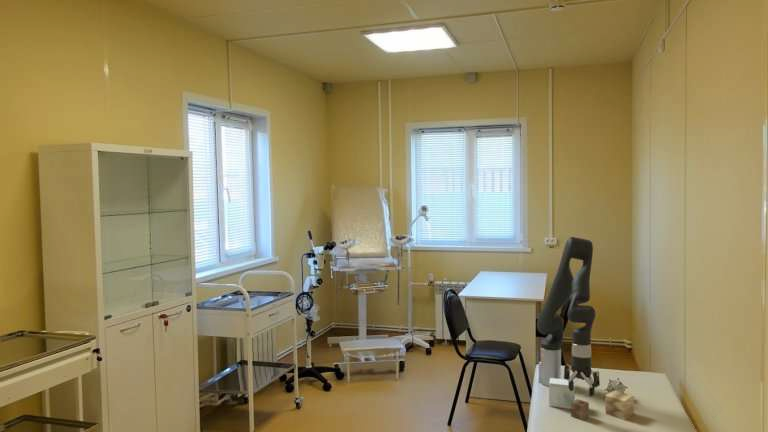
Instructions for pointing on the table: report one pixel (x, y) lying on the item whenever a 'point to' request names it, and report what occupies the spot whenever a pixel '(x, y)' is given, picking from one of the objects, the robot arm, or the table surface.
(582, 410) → the block
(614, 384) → the game die
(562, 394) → the skincare box
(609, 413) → the tower base
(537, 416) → the table surface
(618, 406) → the tower top
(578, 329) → the robot arm
